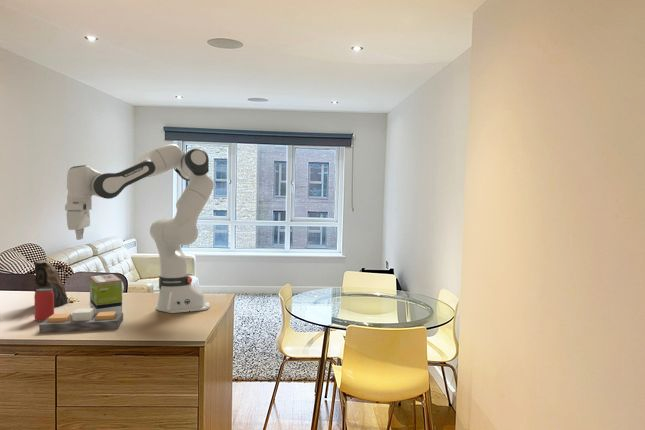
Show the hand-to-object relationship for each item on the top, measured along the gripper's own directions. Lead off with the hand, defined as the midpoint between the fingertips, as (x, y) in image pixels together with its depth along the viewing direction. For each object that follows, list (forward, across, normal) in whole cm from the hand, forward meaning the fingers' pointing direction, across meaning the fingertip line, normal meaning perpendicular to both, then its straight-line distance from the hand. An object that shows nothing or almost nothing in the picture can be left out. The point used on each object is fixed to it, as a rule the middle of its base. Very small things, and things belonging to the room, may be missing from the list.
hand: (79, 239), depth 189 cm
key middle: (+29, +17, +5) cm, 34 cm away
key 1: (+30, +17, -3) cm, 35 cm away
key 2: (+30, +17, +13) cm, 37 cm away
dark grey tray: (+31, +17, +5) cm, 36 cm away
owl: (+31, -19, -16) cm, 40 cm away
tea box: (+31, -3, +9) cm, 33 cm away
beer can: (+31, +4, -12) cm, 34 cm away
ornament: (+31, -27, +7) cm, 42 cm away
